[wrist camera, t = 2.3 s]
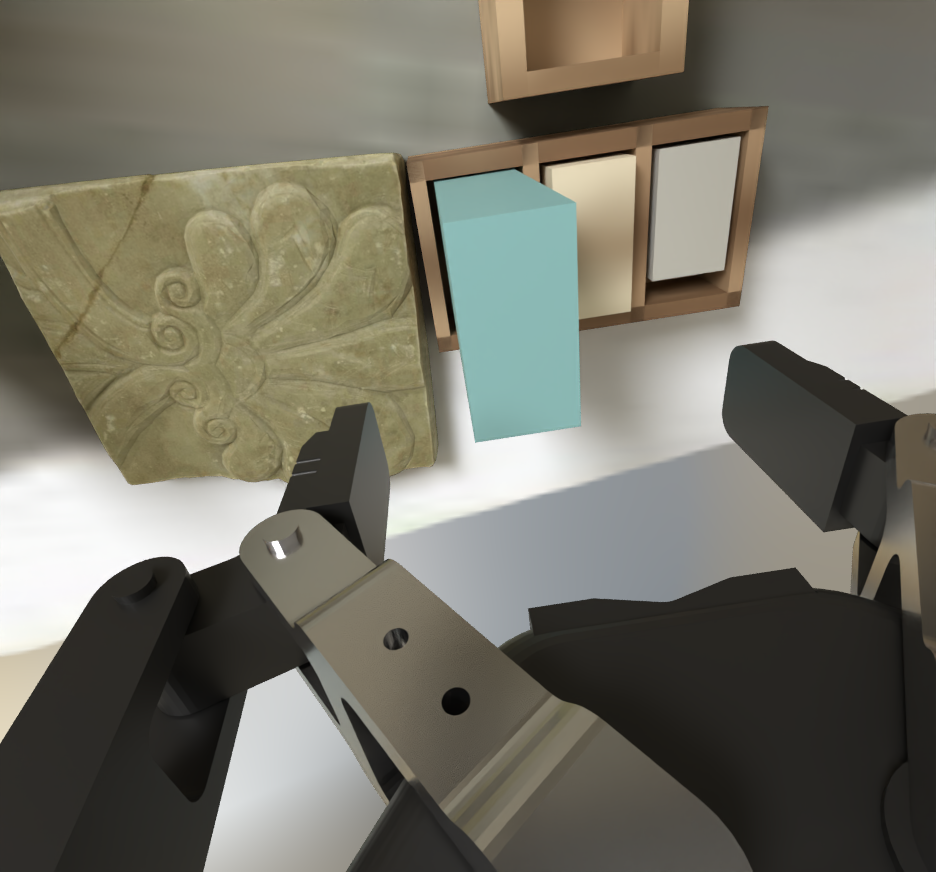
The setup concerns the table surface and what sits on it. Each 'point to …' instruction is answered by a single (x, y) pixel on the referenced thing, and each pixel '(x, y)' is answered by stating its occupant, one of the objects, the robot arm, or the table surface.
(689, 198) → the offcut
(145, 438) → the decorative tile
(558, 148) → the rack
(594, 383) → the table surface
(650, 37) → the holder
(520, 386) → the tall teal slab
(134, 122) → the table surface
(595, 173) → the offcut
